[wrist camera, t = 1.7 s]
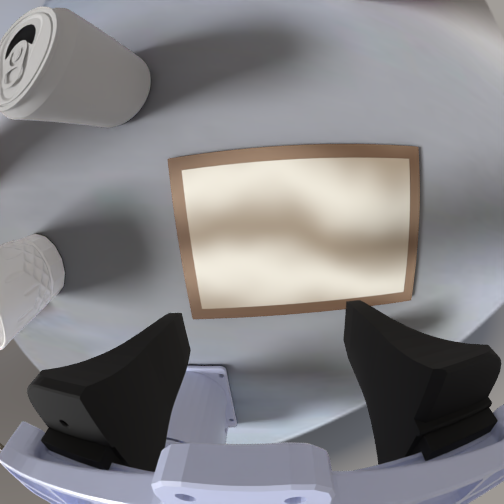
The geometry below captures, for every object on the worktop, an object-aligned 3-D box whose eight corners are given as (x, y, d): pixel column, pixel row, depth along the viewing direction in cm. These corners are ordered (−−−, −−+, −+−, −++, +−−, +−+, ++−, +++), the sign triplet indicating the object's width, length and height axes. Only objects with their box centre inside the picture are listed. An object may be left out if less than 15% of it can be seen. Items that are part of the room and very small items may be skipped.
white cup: (14, 229, 22) (-53, 260, 13) (61, 225, 22) (-16, 261, 12) (30, 297, 25) (-26, 340, 15) (77, 303, 24) (18, 359, 15)
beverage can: (157, 49, 17) (75, -21, 6) (153, 123, 19) (49, 97, 8) (90, 66, 17) (-7, 29, 6) (86, 134, 19) (-26, 132, 8)
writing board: (408, 297, 23) (411, 300, 22) (194, 315, 24) (192, 319, 23) (414, 146, 19) (418, 146, 18) (170, 158, 20) (167, 158, 19)
